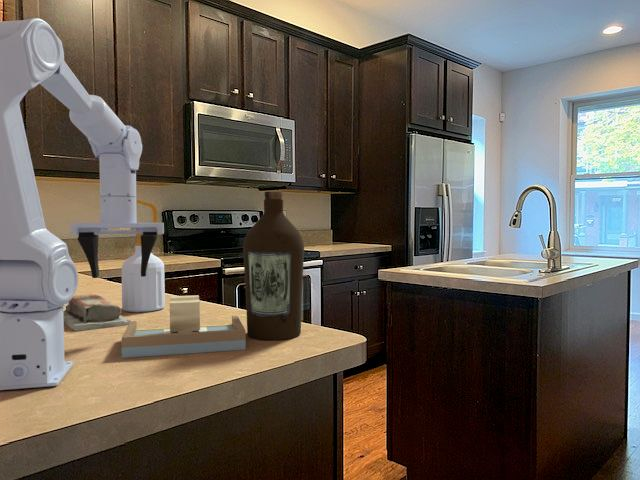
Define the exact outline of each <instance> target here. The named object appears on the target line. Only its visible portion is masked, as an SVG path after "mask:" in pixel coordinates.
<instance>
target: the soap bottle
mask: <svg viewBox="0 0 640 480" xmlns="http://www.w3.org/2000/svg"><path fill="white" fill-rule="evenodd" d="M136 204H139V205H142V206H146V207H149V208H151V210H152V223H158V214H157V213H158V210H157V207H156V206H155V205H153V204H152V203H149V202H145V201H142V200H138V199H136ZM130 231H137V230H130ZM141 235H143V234H135V236H136V237H138V242H135V243H134V251H135V252H134V253H133V254H132V255H130V256H129V257H128V258H127V259H125V260H124V261H123V263H122V265H121V267H120V268H121V308H122V309H121V310H123V311H124V312H127V313H150V312H151V313H152V312H157V311H161V310H162V309H164V308H165V306H166V302H165V301H166V296H165V294H166V293H165V292H166V291H165V290H166V289H165V287H166V286H165V285H166V284H165V264H164V262H163V260H162V259H160V258H159V257H158V256H156V255H154V254H153V253H152V252H151V254H150V257H149V261H148V265H147V271H146V276H145V277H141V260H142V254H141Z"/></svg>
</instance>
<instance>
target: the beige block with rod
mask: <svg viewBox="0 0 640 480" xmlns="http://www.w3.org/2000/svg"><path fill="white" fill-rule="evenodd" d="M200 301H201V300H200V296H199V294H198V295H175V296H174V295H172V296H170V300H169V327H170V332H171V333H178V332H180V331H192V332H199V330H200V326H201V317H200V316H201V306H200V304H201V303H200Z"/></svg>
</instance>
